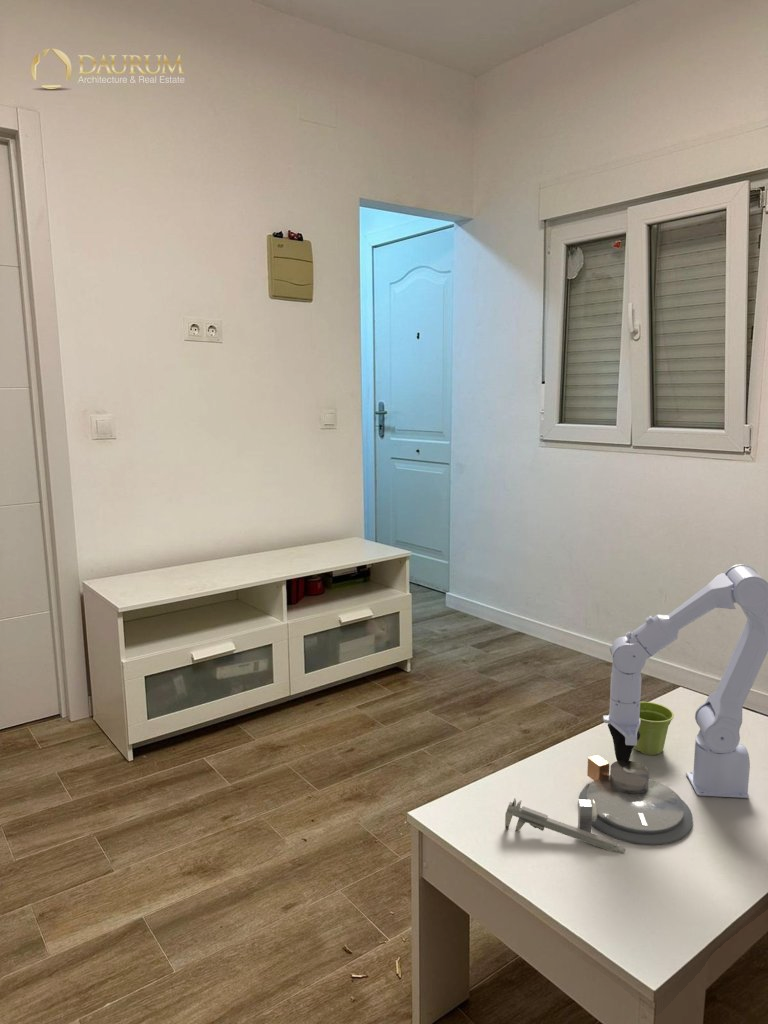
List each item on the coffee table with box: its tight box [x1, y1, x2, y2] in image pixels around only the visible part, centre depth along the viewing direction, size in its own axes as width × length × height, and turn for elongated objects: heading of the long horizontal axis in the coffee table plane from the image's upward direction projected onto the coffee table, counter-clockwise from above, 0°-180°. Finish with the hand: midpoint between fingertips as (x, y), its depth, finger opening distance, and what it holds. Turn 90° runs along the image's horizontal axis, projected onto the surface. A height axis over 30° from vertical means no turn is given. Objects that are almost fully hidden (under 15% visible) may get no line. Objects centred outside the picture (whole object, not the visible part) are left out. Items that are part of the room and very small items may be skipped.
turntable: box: [586, 754, 684, 834], centre depth 136 cm, size 17×20×4 cm
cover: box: [609, 760, 650, 794], centre depth 139 cm, size 7×7×3 cm
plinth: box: [577, 783, 694, 846], centre depth 135 cm, size 20×20×1 cm
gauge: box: [577, 799, 597, 833], centre depth 129 cm, size 3×4×6 cm
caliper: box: [504, 797, 626, 854], centre depth 127 cm, size 20×1×6 cm, turn 70°
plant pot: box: [633, 701, 675, 756], centre depth 157 cm, size 9×9×9 cm
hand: (622, 761), depth 146 cm, fingers closed
